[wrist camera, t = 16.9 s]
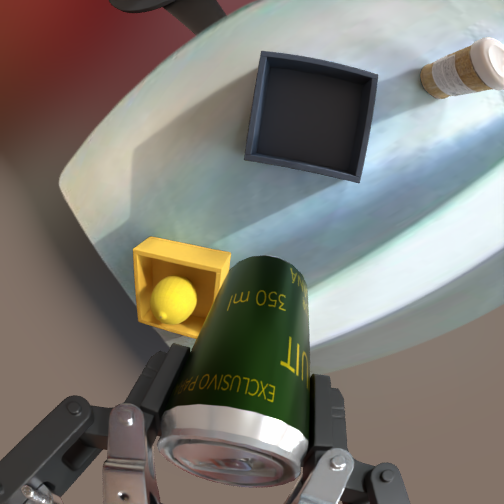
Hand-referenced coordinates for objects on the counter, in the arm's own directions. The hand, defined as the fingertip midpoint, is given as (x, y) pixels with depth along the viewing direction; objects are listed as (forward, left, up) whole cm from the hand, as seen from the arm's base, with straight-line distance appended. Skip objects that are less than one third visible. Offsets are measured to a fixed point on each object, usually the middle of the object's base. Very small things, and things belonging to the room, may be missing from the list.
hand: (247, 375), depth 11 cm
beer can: (0, 0, -8) cm, 8 cm away
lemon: (+11, -11, -22) cm, 27 cm away
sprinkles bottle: (-21, +15, -23) cm, 35 cm away
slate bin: (-12, +1, -23) cm, 26 cm away
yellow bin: (+11, -11, -23) cm, 27 cm away
